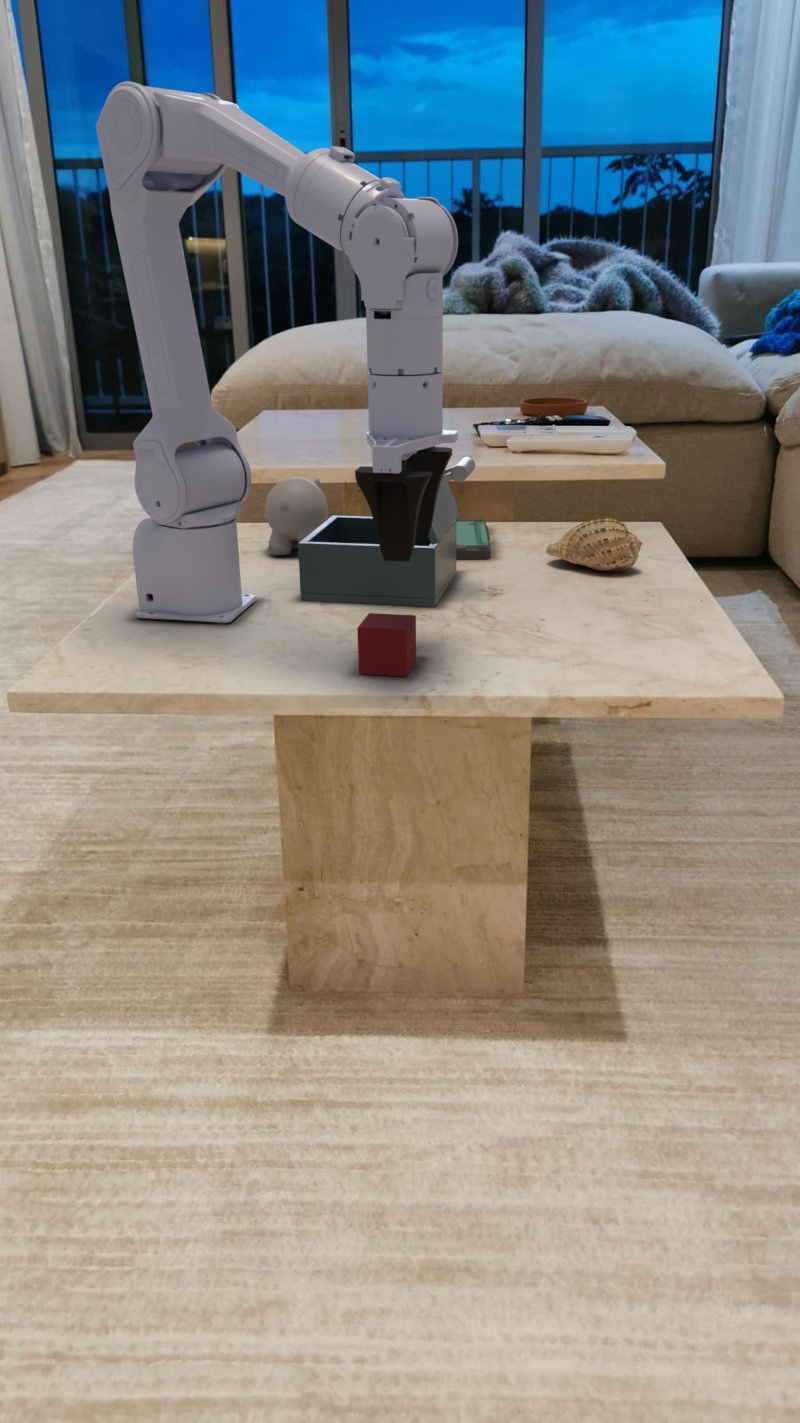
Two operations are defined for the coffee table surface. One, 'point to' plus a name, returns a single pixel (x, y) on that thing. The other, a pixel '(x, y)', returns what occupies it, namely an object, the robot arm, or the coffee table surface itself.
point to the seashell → (598, 545)
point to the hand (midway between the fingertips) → (407, 548)
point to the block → (387, 644)
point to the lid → (448, 499)
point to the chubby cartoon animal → (294, 512)
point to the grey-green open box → (372, 566)
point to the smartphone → (472, 540)
